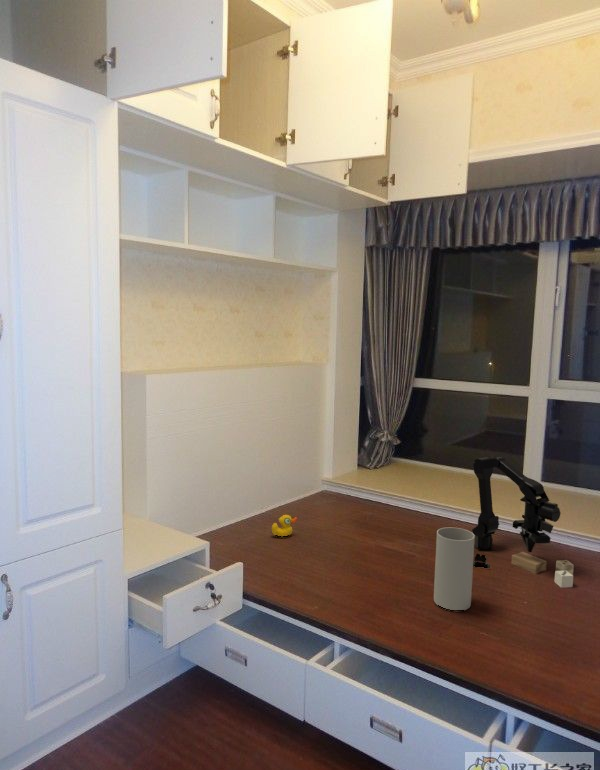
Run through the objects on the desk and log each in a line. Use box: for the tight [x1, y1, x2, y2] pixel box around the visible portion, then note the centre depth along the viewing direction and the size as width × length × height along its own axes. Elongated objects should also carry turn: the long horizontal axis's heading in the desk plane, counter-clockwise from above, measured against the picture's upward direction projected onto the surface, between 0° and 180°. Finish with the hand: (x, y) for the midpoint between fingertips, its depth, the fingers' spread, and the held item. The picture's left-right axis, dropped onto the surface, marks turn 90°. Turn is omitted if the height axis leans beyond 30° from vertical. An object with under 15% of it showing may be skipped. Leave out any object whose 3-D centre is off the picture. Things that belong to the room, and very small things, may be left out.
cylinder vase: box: [433, 526, 475, 611], centre depth 197 cm, size 12×12×25 cm
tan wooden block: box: [511, 551, 548, 575], centre depth 230 cm, size 7×11×4 cm, turn 33°
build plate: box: [473, 553, 491, 568], centre depth 230 cm, size 12×7×5 cm, turn 69°
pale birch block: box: [555, 559, 575, 576], centre depth 224 cm, size 4×4×5 cm
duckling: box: [271, 514, 298, 536], centre depth 256 cm, size 11×5×10 cm, turn 103°
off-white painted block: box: [554, 570, 574, 589], centre depth 215 cm, size 4×4×5 cm
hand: (529, 551), depth 229 cm, fingers closed
